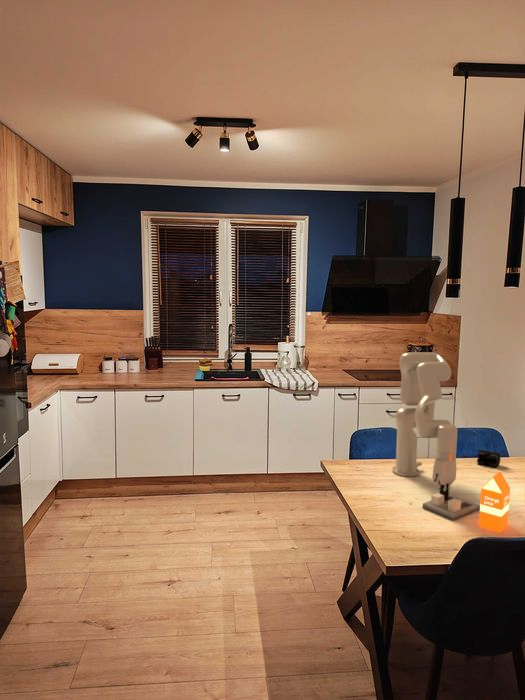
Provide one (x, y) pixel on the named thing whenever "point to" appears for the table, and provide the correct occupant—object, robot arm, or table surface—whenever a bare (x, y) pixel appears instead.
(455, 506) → the tab
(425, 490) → the table surface
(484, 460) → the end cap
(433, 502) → the tab
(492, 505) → the orange juice
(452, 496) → the switch board
